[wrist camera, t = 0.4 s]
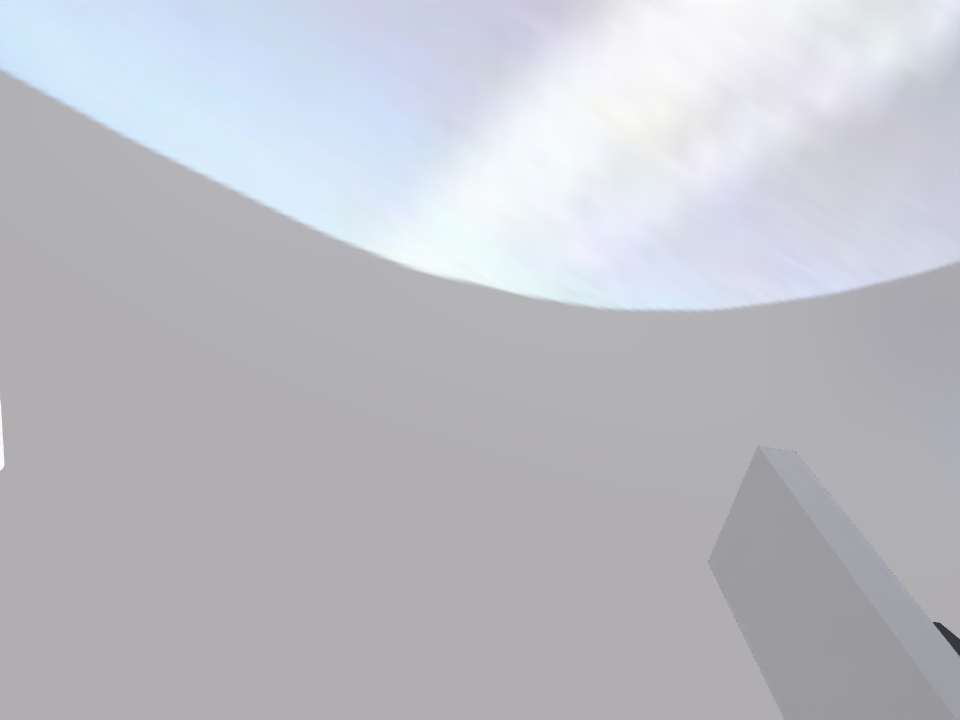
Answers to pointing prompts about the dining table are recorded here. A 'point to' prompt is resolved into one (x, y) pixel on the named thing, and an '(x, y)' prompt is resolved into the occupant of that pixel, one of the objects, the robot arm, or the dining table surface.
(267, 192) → the dining table surface
